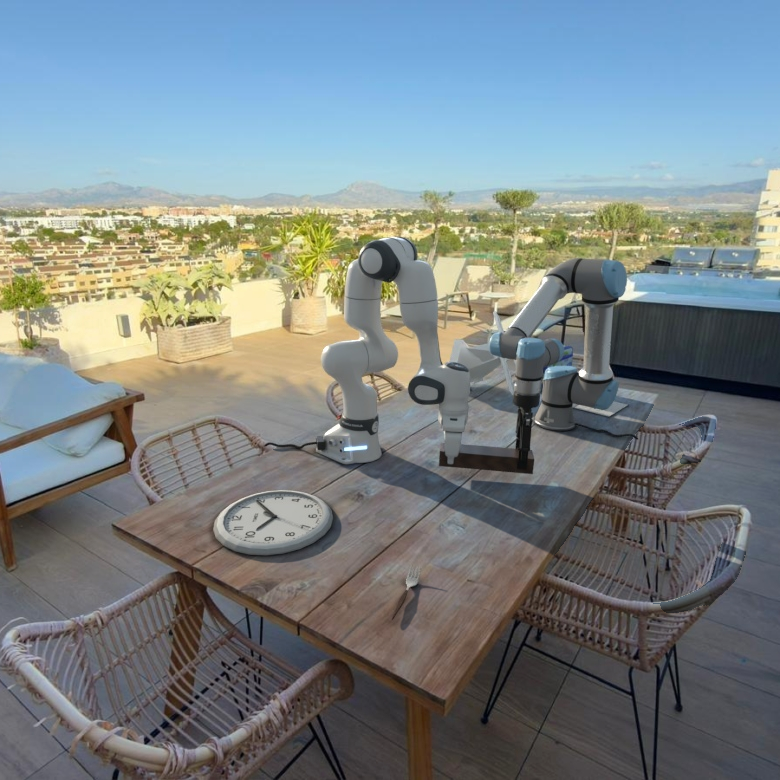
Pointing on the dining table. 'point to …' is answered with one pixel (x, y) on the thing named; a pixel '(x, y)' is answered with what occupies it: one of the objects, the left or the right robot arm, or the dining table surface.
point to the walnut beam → (487, 459)
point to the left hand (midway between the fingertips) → (450, 457)
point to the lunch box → (561, 361)
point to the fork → (410, 583)
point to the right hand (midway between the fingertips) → (520, 463)
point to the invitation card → (608, 412)
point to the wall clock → (273, 522)
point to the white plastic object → (480, 359)
